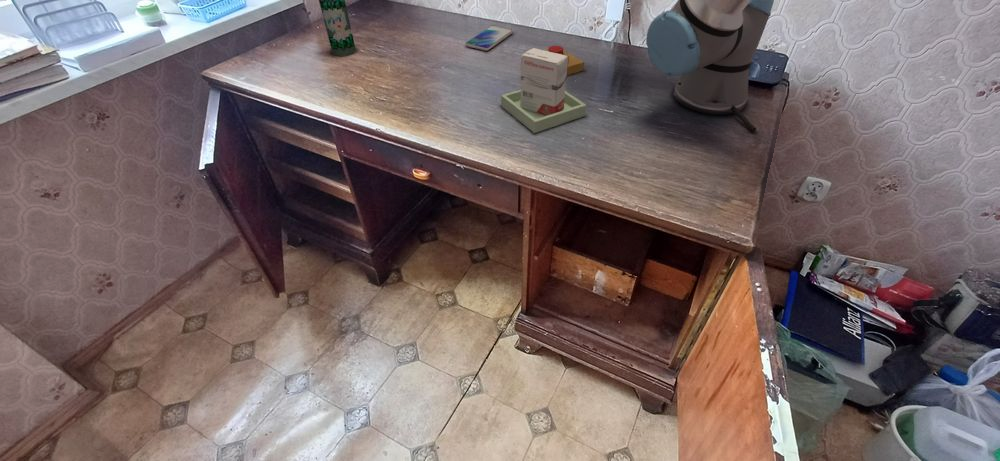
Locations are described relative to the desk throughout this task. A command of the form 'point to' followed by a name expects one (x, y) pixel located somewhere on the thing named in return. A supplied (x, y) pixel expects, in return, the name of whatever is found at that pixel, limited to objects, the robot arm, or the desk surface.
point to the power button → (556, 49)
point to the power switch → (573, 63)
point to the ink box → (543, 81)
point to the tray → (540, 121)
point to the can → (338, 26)
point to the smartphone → (489, 38)
